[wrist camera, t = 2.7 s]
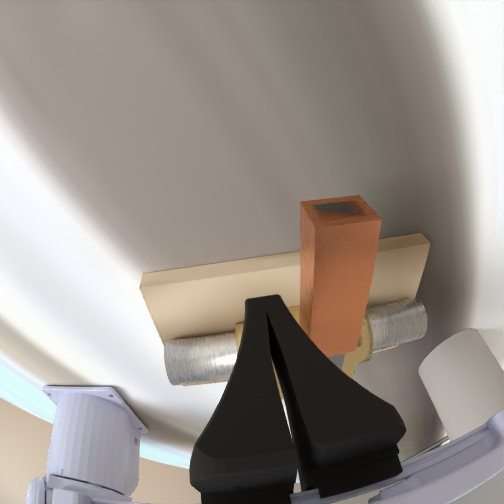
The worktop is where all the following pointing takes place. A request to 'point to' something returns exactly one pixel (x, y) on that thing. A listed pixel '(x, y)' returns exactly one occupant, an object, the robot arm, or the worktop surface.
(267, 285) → the mount board
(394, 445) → the robot arm
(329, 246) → the valve lever
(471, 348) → the cup
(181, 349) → the valve pipe
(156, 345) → the worktop surface
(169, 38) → the worktop surface
